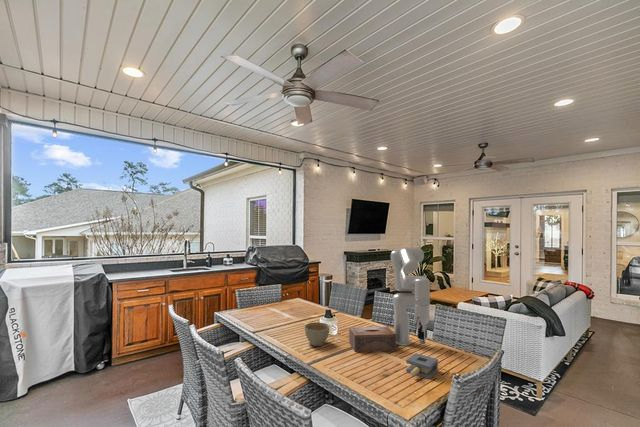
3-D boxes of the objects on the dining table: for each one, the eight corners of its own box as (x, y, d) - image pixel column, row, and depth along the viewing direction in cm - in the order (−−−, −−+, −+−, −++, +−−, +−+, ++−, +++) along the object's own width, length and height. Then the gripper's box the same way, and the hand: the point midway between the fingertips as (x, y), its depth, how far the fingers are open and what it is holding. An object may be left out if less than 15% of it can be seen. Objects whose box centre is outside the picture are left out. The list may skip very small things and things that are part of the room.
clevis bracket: (401, 376, 156) (401, 363, 156) (415, 364, 170) (415, 353, 170) (425, 383, 148) (425, 370, 149) (437, 370, 162) (437, 359, 163)
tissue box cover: (387, 342, 204) (387, 326, 204) (396, 350, 189) (396, 334, 190) (349, 343, 200) (349, 327, 201) (354, 352, 186) (354, 335, 186)
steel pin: (418, 343, 162) (418, 323, 162) (420, 341, 164) (420, 322, 164) (424, 344, 160) (424, 324, 160) (426, 342, 162) (426, 323, 163)
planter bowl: (299, 345, 195) (299, 327, 196) (312, 337, 209) (312, 321, 210) (322, 350, 187) (322, 331, 188) (333, 341, 202) (334, 324, 202)
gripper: (421, 298, 172) (421, 332, 171) (408, 303, 159) (409, 340, 158) (434, 300, 167) (435, 335, 166) (423, 306, 154) (423, 343, 153)
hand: (422, 337), depth 162 cm, fingers closed on steel pin, 3 cm apart
